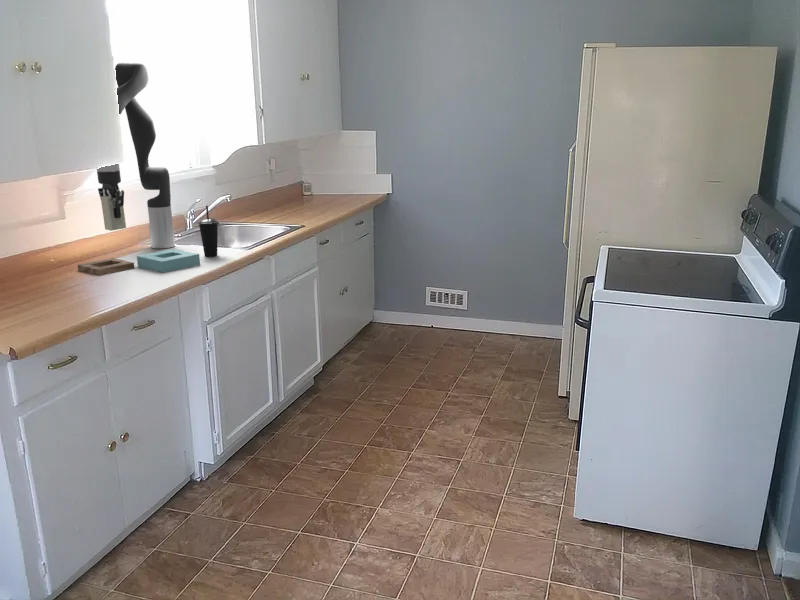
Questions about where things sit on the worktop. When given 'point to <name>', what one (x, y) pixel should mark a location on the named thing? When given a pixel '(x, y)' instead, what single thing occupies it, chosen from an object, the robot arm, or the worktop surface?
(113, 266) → the frame
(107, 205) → the skincare box
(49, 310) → the worktop surface
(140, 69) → the robot arm
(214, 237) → the drinking cup
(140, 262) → the socket block
